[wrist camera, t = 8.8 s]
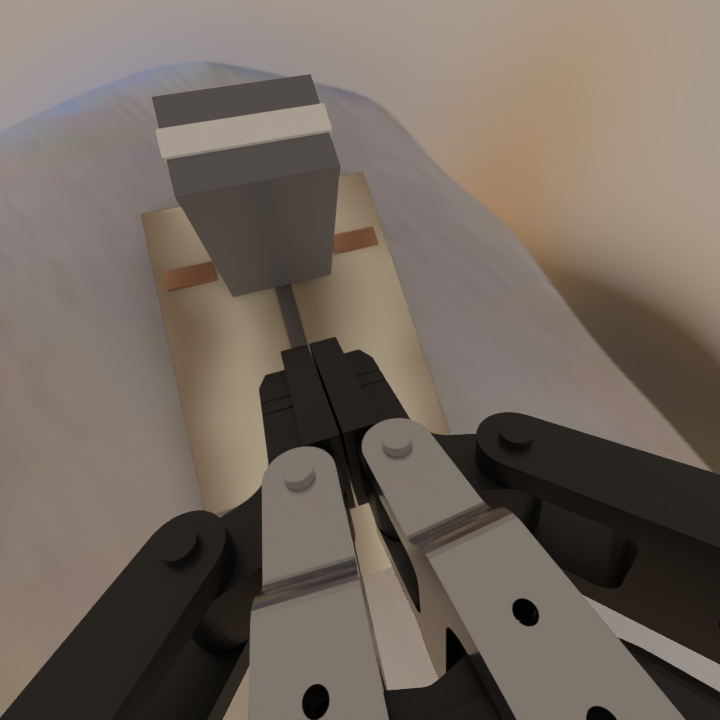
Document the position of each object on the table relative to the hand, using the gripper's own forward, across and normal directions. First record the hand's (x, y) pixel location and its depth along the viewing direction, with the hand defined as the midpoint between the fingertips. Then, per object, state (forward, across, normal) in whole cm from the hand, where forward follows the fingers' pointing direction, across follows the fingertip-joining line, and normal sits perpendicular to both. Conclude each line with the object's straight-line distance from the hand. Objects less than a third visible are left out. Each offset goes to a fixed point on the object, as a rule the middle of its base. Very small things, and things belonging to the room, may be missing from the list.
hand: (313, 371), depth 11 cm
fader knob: (+11, 0, 0) cm, 11 cm away
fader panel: (+9, 0, +6) cm, 11 cm away
